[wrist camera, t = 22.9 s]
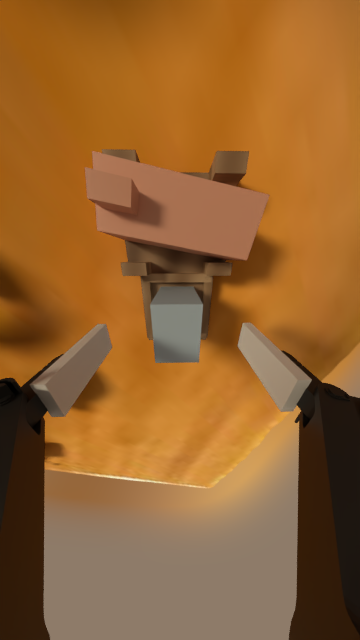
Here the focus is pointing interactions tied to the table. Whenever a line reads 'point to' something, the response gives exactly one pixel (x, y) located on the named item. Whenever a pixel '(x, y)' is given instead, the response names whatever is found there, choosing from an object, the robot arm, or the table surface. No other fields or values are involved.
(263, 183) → the table surface
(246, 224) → the pink slab with ridge
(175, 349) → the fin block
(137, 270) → the jig
